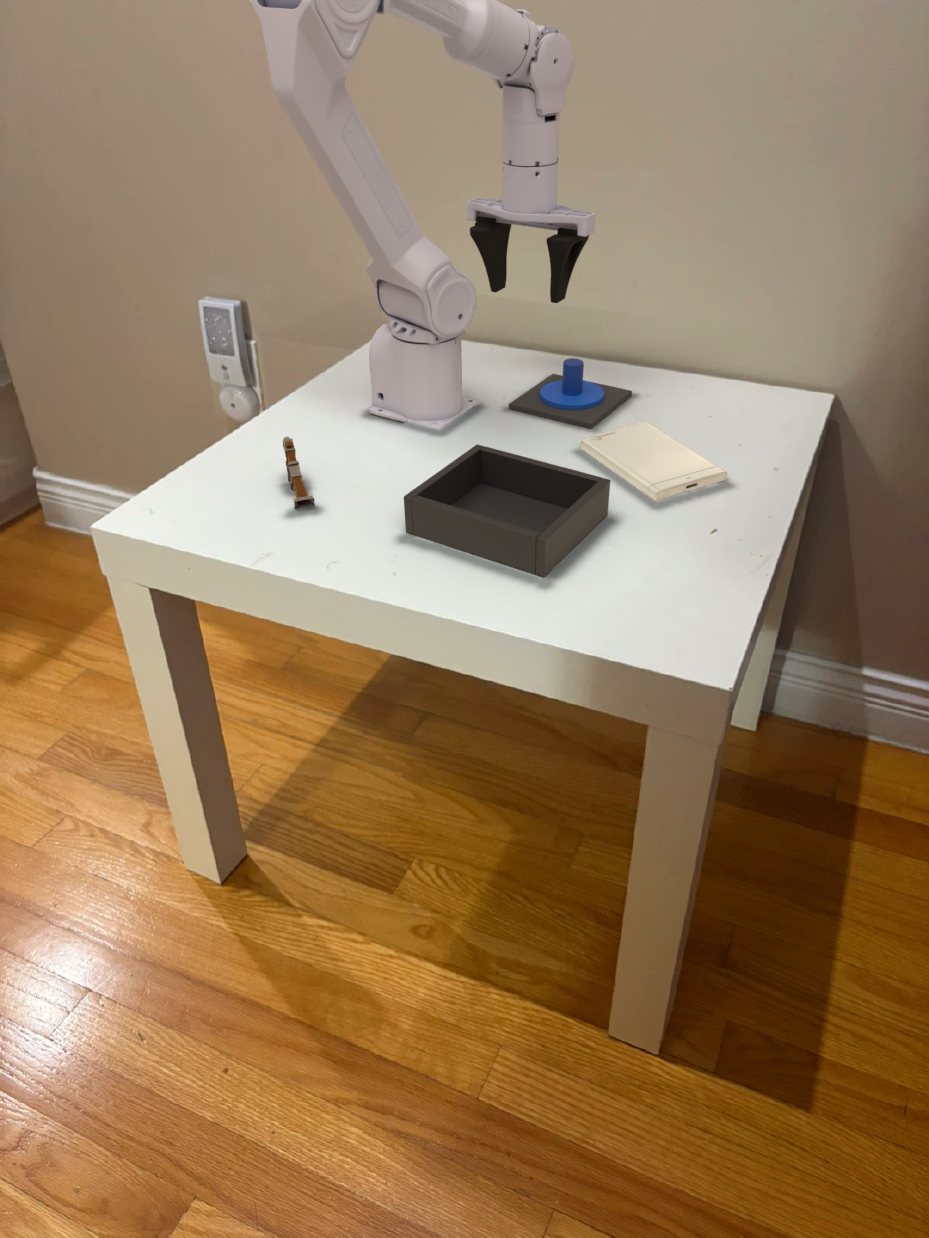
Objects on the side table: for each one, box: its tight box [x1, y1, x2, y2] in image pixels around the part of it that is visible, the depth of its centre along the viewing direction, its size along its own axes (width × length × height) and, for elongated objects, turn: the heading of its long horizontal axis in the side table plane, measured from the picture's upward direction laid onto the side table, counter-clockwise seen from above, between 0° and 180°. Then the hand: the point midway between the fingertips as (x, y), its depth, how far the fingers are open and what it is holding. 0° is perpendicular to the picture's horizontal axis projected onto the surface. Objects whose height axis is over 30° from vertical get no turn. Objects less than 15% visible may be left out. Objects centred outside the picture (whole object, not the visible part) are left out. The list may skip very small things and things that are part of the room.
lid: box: [540, 357, 604, 410], centre depth 104 cm, size 7×7×4 cm
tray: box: [403, 443, 611, 579], centre depth 83 cm, size 14×12×4 cm
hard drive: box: [579, 421, 728, 501], centre depth 92 cm, size 2×8×12 cm
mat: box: [508, 373, 633, 429], centre depth 105 cm, size 10×10×1 cm
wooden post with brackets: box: [282, 436, 316, 508], centre depth 89 cm, size 2×8×4 cm, turn 18°
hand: (527, 295), depth 106 cm, fingers open, 7 cm apart
